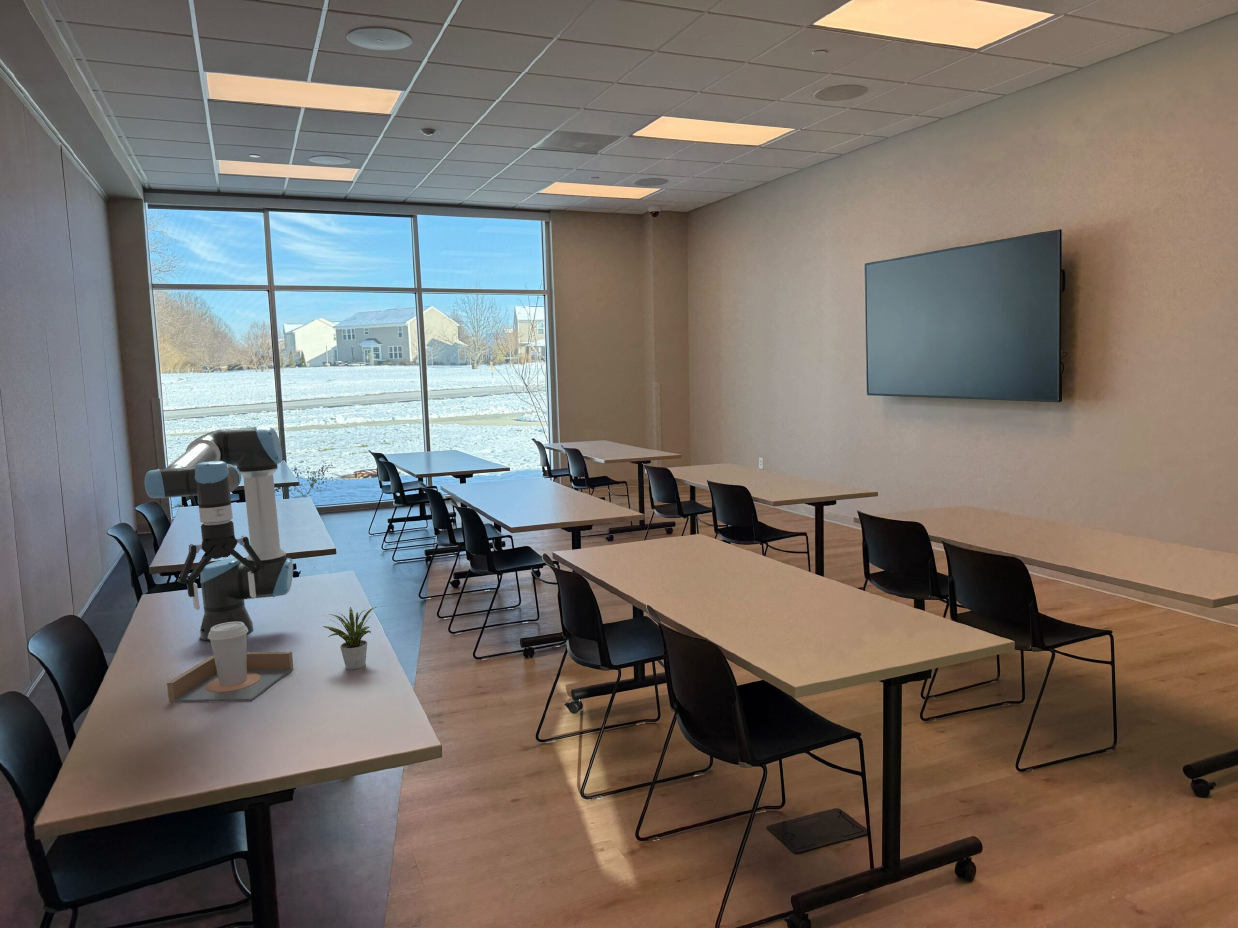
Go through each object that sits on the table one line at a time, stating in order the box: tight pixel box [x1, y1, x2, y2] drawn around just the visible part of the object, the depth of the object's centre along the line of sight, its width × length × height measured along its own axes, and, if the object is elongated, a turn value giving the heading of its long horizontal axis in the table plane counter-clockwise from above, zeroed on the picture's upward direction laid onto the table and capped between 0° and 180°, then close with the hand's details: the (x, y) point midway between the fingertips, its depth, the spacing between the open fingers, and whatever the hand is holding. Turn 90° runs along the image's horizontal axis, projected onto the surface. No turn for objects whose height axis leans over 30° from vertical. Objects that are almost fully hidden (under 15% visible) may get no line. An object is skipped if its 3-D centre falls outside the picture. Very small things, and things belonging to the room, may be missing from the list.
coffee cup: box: [208, 622, 248, 686], centre depth 212 cm, size 10×10×15 cm
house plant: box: [322, 606, 377, 670], centre depth 223 cm, size 14×14×16 cm
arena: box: [166, 651, 294, 703], centre depth 213 cm, size 22×22×5 cm
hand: (225, 602), depth 211 cm, fingers open, 13 cm apart
